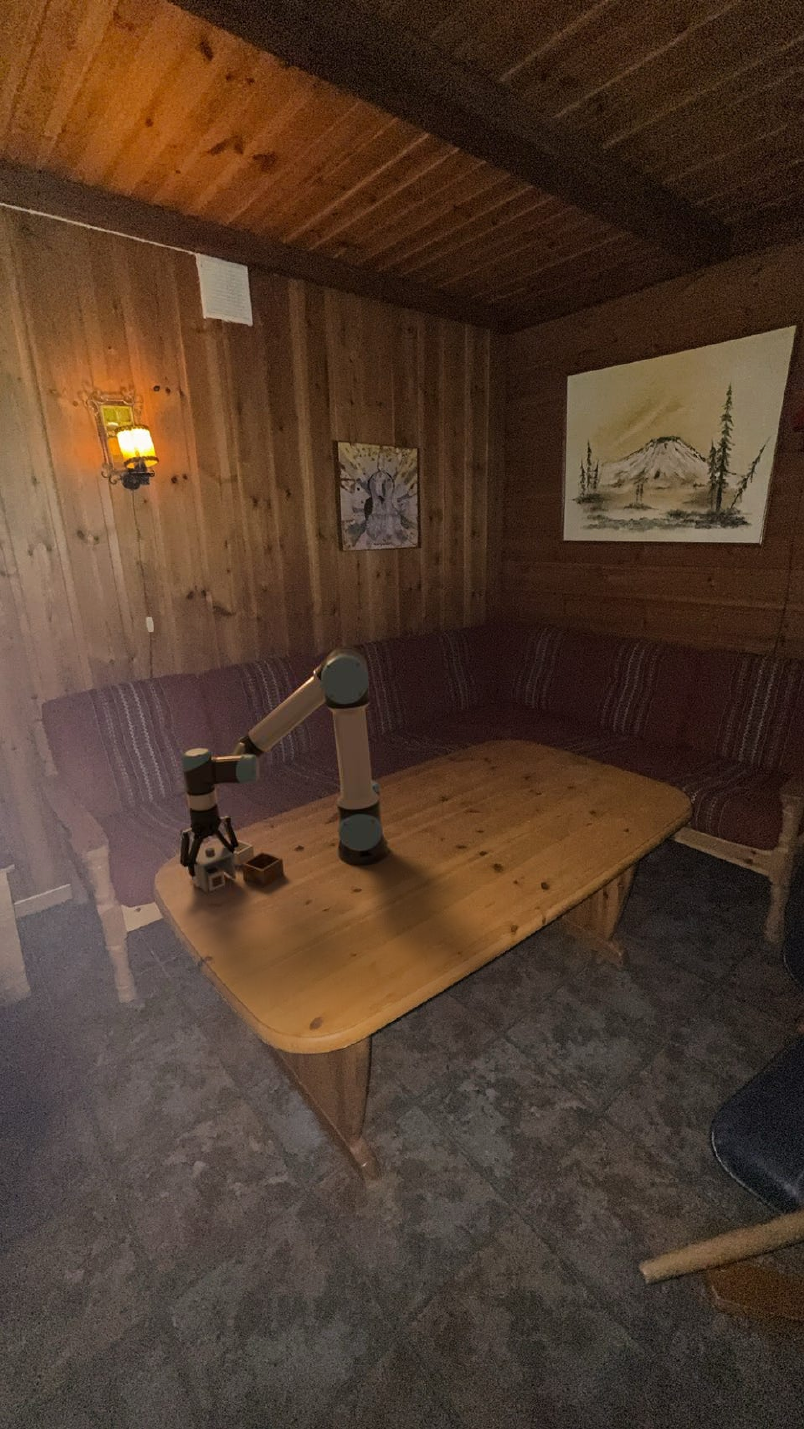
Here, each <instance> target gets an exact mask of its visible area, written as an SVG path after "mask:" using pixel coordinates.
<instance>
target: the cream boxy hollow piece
mask: <svg viewBox="0 0 804 1429" xmlns="http://www.w3.org/2000/svg"><path fill="white" fill-rule="evenodd" d="M204 870H205V877H206V884H207V890H209V892H211V891H213V890H216V889H219V888H221V887H224V886H225V885H226V880H225V872H224V871H223V870H222V869H221V868H220V867H218V866H217V865H215V866H212V867H210V868H207V869H204Z"/></svg>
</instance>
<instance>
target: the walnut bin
mask: <svg viewBox="0 0 804 1429" xmlns="http://www.w3.org/2000/svg"><path fill="white" fill-rule="evenodd" d="M241 868H242V870H241V871H242V876H243V878H242V879H243V881H247V882H250V883H252V884H254V885H257V886H260V887H262V888H264V887H267V886H269V884H270V883H273V882H274V881H275V880H278V878H280V877H282V876H283V875H284V874H285V873H284V861H283V858H282V857H279V856H276V855H273V854H270V853H267V852H264V851H261V852H259V853H257V854H256V855H254V857H252V858H251V859H249V860H247V861H245V862H244V863H242V866H241Z"/></svg>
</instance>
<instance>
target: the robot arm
mask: <svg viewBox="0 0 804 1429" xmlns="http://www.w3.org/2000/svg"><path fill="white" fill-rule="evenodd" d="M368 668H369V667H368V662H367V660H366V657H365V655H364V654H363V653H362V652H361V651H360V650H359V649H356V648H355V647H351V646H341V647H338V648H335V649H334V650H332V651H331V652H330V653H329V654H328V655H327V656H326V658H325V659H324V660H323V661H322V662H321V663H320V664H319V665H318V666H316V668H315V669H313V672H312V673H313V675H312V676H311V677H310V678H309V679H308V680H306V681H305V683H303V684H302V685H301V686H299V688H297V689H296V690H295V691H294V692H293V693H292V694H291V695H289V696H288V697H287V698H286V699H285V700H283V702H282V703H280V704H278V706H277V707H276V708H275V709H274V710H272V711H271V712H270V713H269V714H268V715H267V716H266V717H265V718H263V719H262V720H261V721H260V722H259V723H257V724H256V725H255V726H254V727H253V728H252V729H251V730H249V732H247V733H246V734H245V735H244V736H242V737H240V738H238V739H237V740H236V741H235V742H234V744H233V746H232V748H231V749H230V751H229V753H228V755H223V756H218V755H217V756H215V755H214V756H213V755H212V753H211V751H210V749H208V748H203V747H198V748H192V749H189V750H186V751H185V752H184V753H183V755H181V762H182V773H183V779H184V780H183V781H184V785H185V790H186V798H187V804H188V807H189V808H188V812H189V819H190V826H189V827H190V828H186V829H185V830H184V829H181V830H180V836H181V842H180V843H181V846H180V857H179V863H180V865H181V866H182V867H184V868H187V867H188V868H187V869H188V875H189V876H190V877H191V878H192V877H193V880H192V881H193V884H194V886H196V887H197V888H201V887H200V879H199V872H198V866H197V865H196V864H195V862H196V858H197V855H198V852H199V850H200V849H201V846H202V844H203V842H204V840H205V839H207V838H209V837H213V836H215V837H216V838H217V839H218V840H219V841H220V842H221V845H222V846H223V847H224V848H226V849H227V850H229V851H230V852H231V853H233V852H234V851H235V849H234V848H235V847H238V846H239V843H238V841H239V840H238V839H237V837H236V833H235V831H234V829H233V826H232V818H231V817H230V816H228V815H227V814H224V815H223V816H221V817H220V811H219V805H218V803H217V802H218V796H217V790H216V789H217V788H216V785H217V786H218V785H232V784H235V785H236V784H243V785H244V784H248V783H249V784H250V783H255V782H257V781H258V780H259V778H260V761H259V759H260V758H261V757H263V755H264V754H266V753H267V752H268V751H269V750H270V749H272V747H273V746H274V745H276V744H277V743H278V742H279V741H280V740H281V739H283V738H284V737H285V736H287V734H289V733H290V732H291V731H293V729H295V728H296V727H297V726H298V725H300V724H301V722H303V721H304V720H306V718H307V717H308V716H310V715H311V714H312V713H313V712H314V711H316V709H318V708H320V706H322V704H324V703H325V707H326V708H327V709H328V710H330V711H331V712H332V719H333V727H334V737H335V745H336V746H335V747H336V754H337V765H338V773H339V774H338V775H339V782H340V784H339V785H340V792H339V795H340V796H339V797H338V798H337V800H336V806H337V814H338V815H337V817H338V825H339V826H338V829H337V830H338V836H339V842H338V846H337V855H338V858H339V860H341V861H342V862H344V863H346V864H350V865H355V866H363V865H364V866H366V865H372V864H375V863H377V862H381V861H382V860H384V859H385V858H386V856H387V854H388V852H389V851H388V850H389V849H388V843H387V842H388V841H387V840H386V839H385V835H384V833H383V825H382V812H381V794H380V792H381V790H380V785H379V783H378V782H376V781H374V780H373V779H372V768H371V757H370V747H369V746H370V745H369V735H368V727H367V726H368V725H367V716H366V713H367V712H366V708H367V707H368V706H369V705H370V704H371V697H370V694H371V693H370V684H369V680H370V677H369V670H368ZM220 825H223V827H224V829H225V832H226V835H227V837H228V839H229V841H228V840H227V838H226V837H225V836H224V835H223V833H222V832H221V831H220V829H219V828H220ZM192 833H193V834H194V835H193V838H192V839H193V840H192V845H191V844H190V843H191V840H190V839H191V837H192ZM220 842H219V843H220ZM190 845H191V847H190ZM233 860H234V856H233Z"/></svg>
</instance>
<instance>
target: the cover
mask: <svg viewBox="0 0 804 1429" xmlns="http://www.w3.org/2000/svg"><path fill="white" fill-rule="evenodd" d="M195 864H196V865H197V866H198V872H199V879H200V887H199V888H201V889H202V890H203V891H204V892H208V889H207V884H206V877H205V870H204V869H207V868H210V867H212V866H215V865H217V866H218V867H220V868H221V869H222V870H223V871H224V874H226V875H228V876H230V878H232V879H233V880H236V879H237V877H236V876H237V874H236V868H235V867H236V866H234V860H233V853H231V852H230V851H229V850H227V849H226V848H225V847H224V845H223V844H220V842H217V843H214V844H210V845H208V846H206V847H203V848H200V849H199V852H198V855H197V858H196V862H195ZM191 880H192V881H193V877H191Z"/></svg>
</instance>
